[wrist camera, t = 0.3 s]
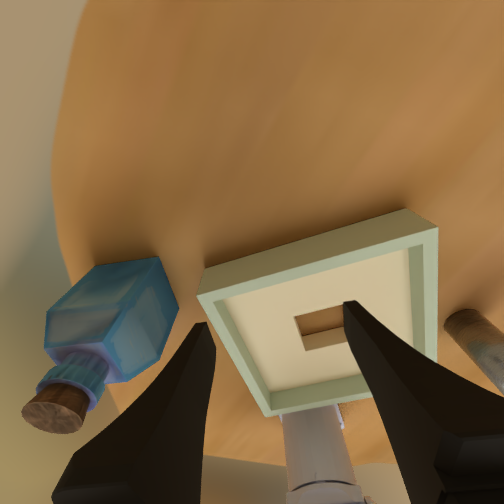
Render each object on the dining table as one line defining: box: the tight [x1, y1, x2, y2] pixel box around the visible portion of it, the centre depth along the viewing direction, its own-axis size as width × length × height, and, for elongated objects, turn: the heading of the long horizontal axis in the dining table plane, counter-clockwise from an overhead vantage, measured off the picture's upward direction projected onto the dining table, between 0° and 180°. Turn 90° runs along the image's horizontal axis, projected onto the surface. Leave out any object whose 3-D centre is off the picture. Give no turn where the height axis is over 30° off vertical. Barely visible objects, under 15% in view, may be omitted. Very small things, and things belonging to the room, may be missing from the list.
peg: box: [444, 309, 504, 395], centre depth 23 cm, size 4×4×7 cm
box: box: [196, 208, 438, 417], centre depth 24 cm, size 18×18×4 cm
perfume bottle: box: [21, 257, 179, 434], centre depth 19 cm, size 6×6×12 cm
